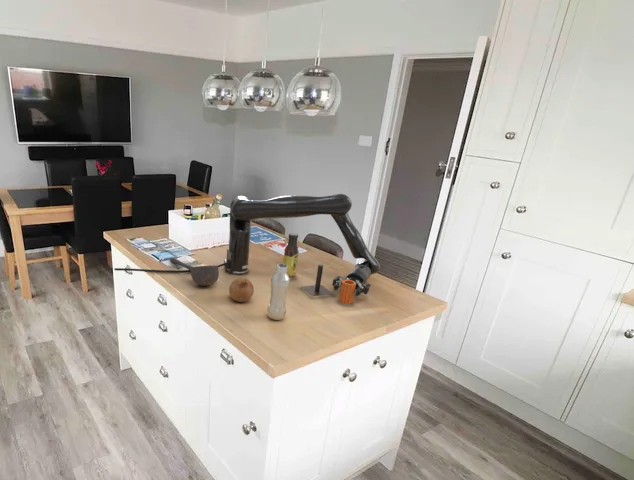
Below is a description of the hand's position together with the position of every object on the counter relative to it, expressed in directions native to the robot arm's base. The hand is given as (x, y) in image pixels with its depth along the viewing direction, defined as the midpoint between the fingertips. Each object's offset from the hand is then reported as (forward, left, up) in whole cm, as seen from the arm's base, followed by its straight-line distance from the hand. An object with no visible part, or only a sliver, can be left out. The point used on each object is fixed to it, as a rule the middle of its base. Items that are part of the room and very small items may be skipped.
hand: (346, 290), depth 162 cm
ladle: (-51, +43, -6) cm, 67 cm away
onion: (-38, +13, -6) cm, 41 cm away
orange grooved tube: (+2, +1, -6) cm, 6 cm away
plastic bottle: (-31, -4, -6) cm, 32 cm away
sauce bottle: (-8, +31, -6) cm, 33 cm away
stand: (-4, +13, -6) cm, 15 cm away
